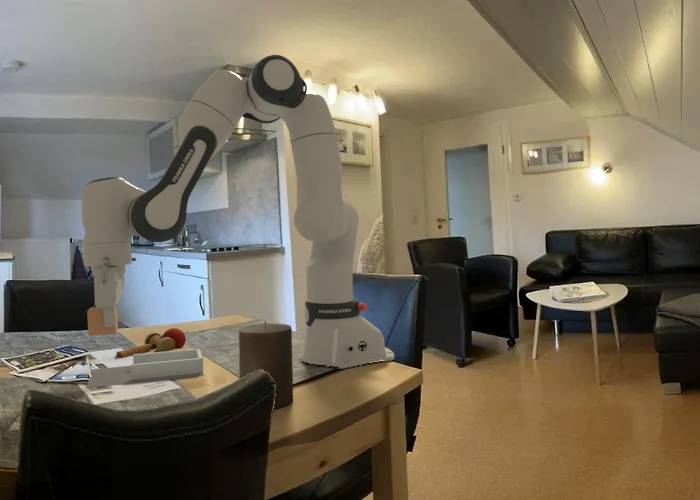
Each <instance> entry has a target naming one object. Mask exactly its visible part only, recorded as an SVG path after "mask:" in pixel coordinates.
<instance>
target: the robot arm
mask: <svg viewBox="0 0 700 500" xmlns="http://www.w3.org/2000/svg"><path fill="white" fill-rule="evenodd" d="M242 117H243V118H245V119H249V120H252V121H254V122H256V123H259V124H264V125H265V124H267V125H268V124H272V123H275V122H277V121H278V120H282V121H283V122H284V124H285V125H286V128H287V130H288V134H289V141H290V146H291V152H292V157H293V163H294V168H295V175H296V209H295V212H294V215H293V222H294V227H295V230H296V231H297V234H299V235H300V236H301V237H302V238H303V239H305V240H307V241H309V242H311V243H312V246H311V251H310V252H311V253H310V256H309V260H308V263H307V265H306V271H305V272H306V300H305V301H304V302H305V303H304V323H305V325H306V326H305V337H304V345H303V350H302V352H301V353H302V354H301V357H300V360H301V359H302V360H303V361H305V362H308V363H312V364H320V365H330V366H335V367H340V368H339V369H348V367H349V368H354V367H353V366H355V367H358V366H357V365H360V366H363V365H362V364H365V363H370V362H374V361H379V360H381V359H382V360H385V361H384V362H388V361H393V360H394V359H395V353H394V352H393V351H392V350H391V349H389V347H386V346H385V339H384V335H383V333H382V331H381V330H380V329H379V328H378V327H376V326H375V325H374V324H373V323H371V322H370V321H369V320H367V319H366V318H365V317H364V316H362V315H361V312H363V313H364V312H366V311H367V309H368V305H367V304H366V303H365V302H362V301H361V302H358V301H357V300H355V299H354V298H353V297H354V295H353V293H354V289H353V288H354V287H353V285H354V283H353V281H354V280H353V279H354V277H353V275H354V274H353V273H354V272H353V271H354V270H353V269H354V257H355V252H356V245H357V234H358V227H359V223H360V217H359V214H358V211H357V209H356V208H355V207H354V205H353V204H352V203H351V202H349V200H347V199H344V198H343V195H342V171H343V165H342V160H341V159H342V158H341V154H340V153H341V152H340V148H339V147H340V146H339V142H338V137H337V133H336V129H335V124H334V120H333V117H332V115H331V111H330V109H329V106H328V104H327V101H326V100H325V98H324V97H323V96H322V95H321V94H318V93H315V92H309V91H308V85H307V83H306V81H305V80H304V79H303V78H302V77H301V75H300V73H299V70H298V68H297V67H296V65H294V63H293V62H292V60H290V59H289V58H287V57H285V56H283V55H280V54H279V55H278V54H273V55H272V54H271V55H267V56H265V57H263V58H262V59H260V60H259V61H258V62H256V64H255V65H254V67H253V69H252V71H251V73H250V75H249V76H246V77H245V76H240V75H238V74H236V73H235V72H233V71H231V70H226V69H218V70H215V71H214V72H213V73H211V74H210V75H209V76H208V77H207V79H205V81H204V82H203V83H201V85H200V87H198V88H197V90H196V92H195V93H194V94H193V96H192V98H190V100H189V102H188V104H187V105H186V107H185V109H184V111H183V113H182V116H181V118H180V121H179V124H178V126H177V129H176V130H177V131H176V132H177V135H178V141H179V143H178V147H177V150H176V151H175V154H174V156H172V159H171V161H170V163H169V164H168V166H167V168H166V170H165V171H164V173H163V175H162V177H161V179H160V180H159V181H158V182H157V184H155V185H154V187H152V188H151V189H149V190H144V189H142V188H140V187H137V186H135V185H133V184H131V183H129V182H128V181H127V180H125V179H124V178H123V177H120V176H110V177H109V176H108V177H104V178H102V177H101V178H98V179H93V180H92V181H90V182H88V183H87V184H85V186H84V188H83V191H82V198H81V221H82V225H83V228H84V237H83V242H82V243H83V261H84V263H83V264H84V267H87V268H89V267H90V268H91V274H92V275H94V279H93V282H94V283H93V284H94V286H93V287H94V290H93V291H94V304H95V307H97V308H102V311H103V316H104V323H105V327H113V326H114V325H115V317H114V309H115V306H117V310H118V308H119V306H118V305H119V302H120V300H121V297H122V296H123V294H124V285H125V273H126V272H127V271H126V266H128V265H129V266H130V265H133V263H132V262H133V261H132V260H133V259H132V241H131V240H132V237H140V238H142V239H144V240H146V241H149V242H153V243H165V242H168V241H171V240H172V239H175V238H176V237H178V235H179V234H180V233H181V232H182V231H183V229H184V226H185V224H186V221H187V220H186V219H187V214H188V212H187V211H188V202H189V199H190V197H191V194H192V192H193V190H194V189H195V187H196V185H197V183H198V182H199V180H200V178H201V176H202V174H203V172H204V170H205V168H206V167H207V165H208V163H210V161H211V160H212V159H213V158H214V157H215V156H216V154H218V153H219V151H220V150H221V149H222V148H223V147H224V145H225V144H226V143H227V142H228V140H229V138H230V136H232V134H233V132H234V131H235V129H236V127H237V125H238V123H239V122H240V120H241V119H242ZM302 360H301V361H302ZM303 361H302V362H303ZM305 362H304V363H305Z"/></svg>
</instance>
